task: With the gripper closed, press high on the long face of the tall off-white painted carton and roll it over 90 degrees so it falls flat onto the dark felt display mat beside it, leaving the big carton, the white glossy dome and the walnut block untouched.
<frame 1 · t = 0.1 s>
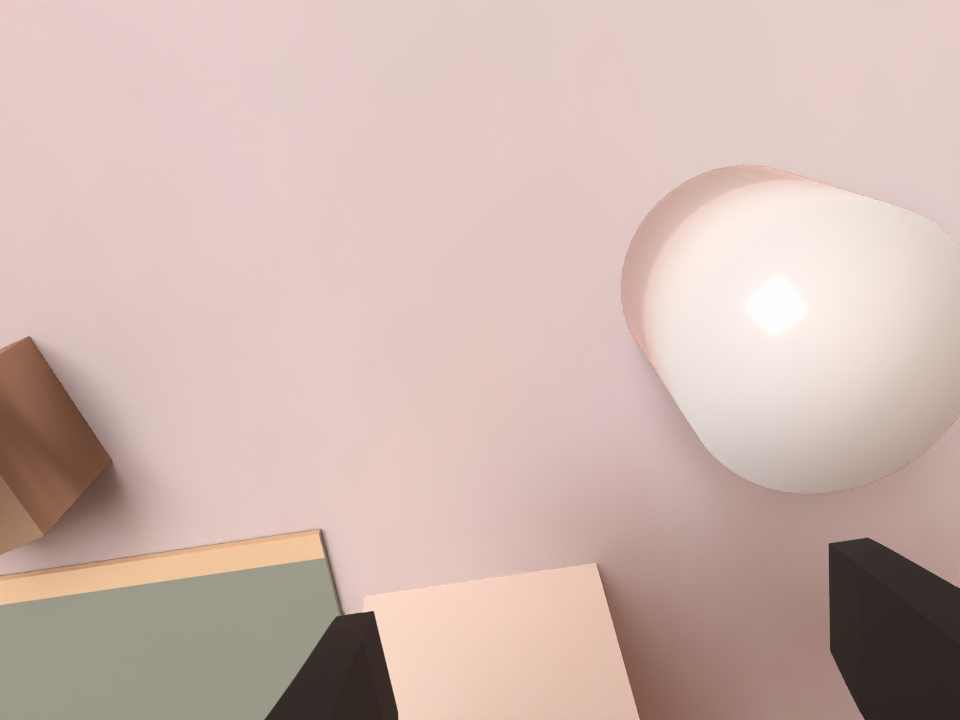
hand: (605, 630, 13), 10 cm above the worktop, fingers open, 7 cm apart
walnut block: (10, 426, 22), on the worktop
white glossy dome: (734, 281, 21), on the worktop
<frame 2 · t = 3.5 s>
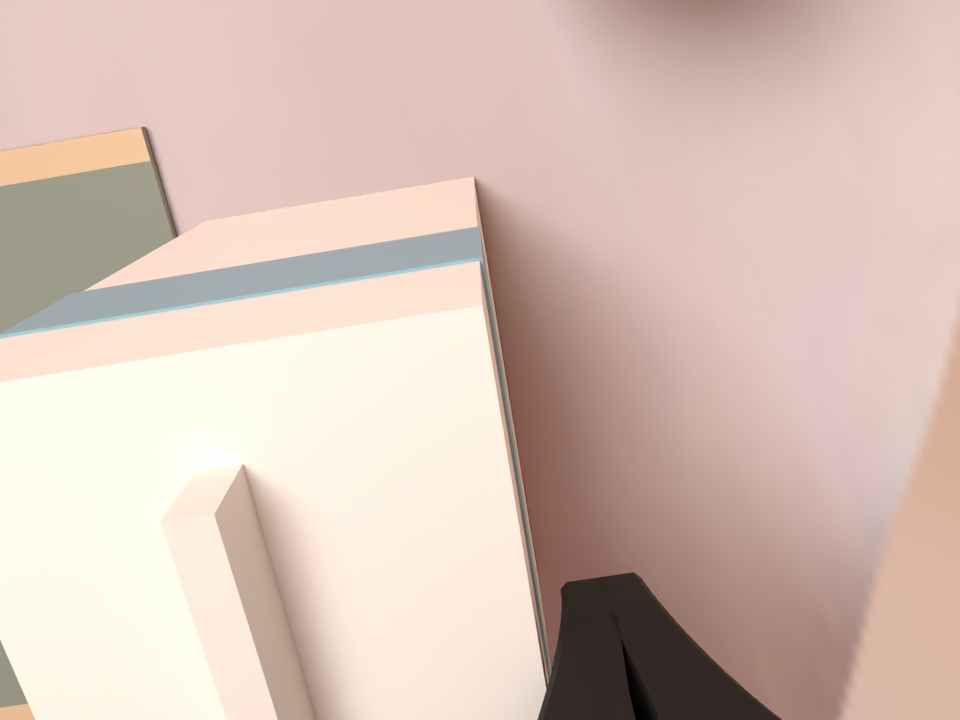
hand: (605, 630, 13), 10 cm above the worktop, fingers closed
milk carton: (384, 412, 23), on the worktop, touching gripper
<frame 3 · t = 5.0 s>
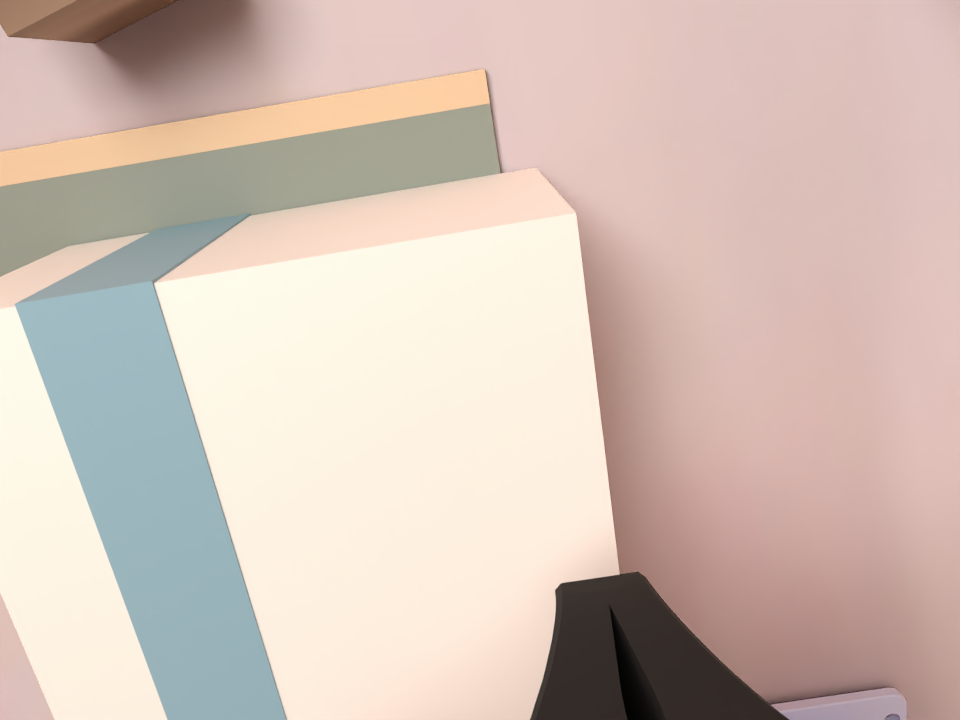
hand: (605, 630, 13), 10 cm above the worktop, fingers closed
display mat: (285, 428, 23), on the worktop
milk carton: (585, 442, 19), point 4 cm above the worktop, tilted 90°, touching display mat
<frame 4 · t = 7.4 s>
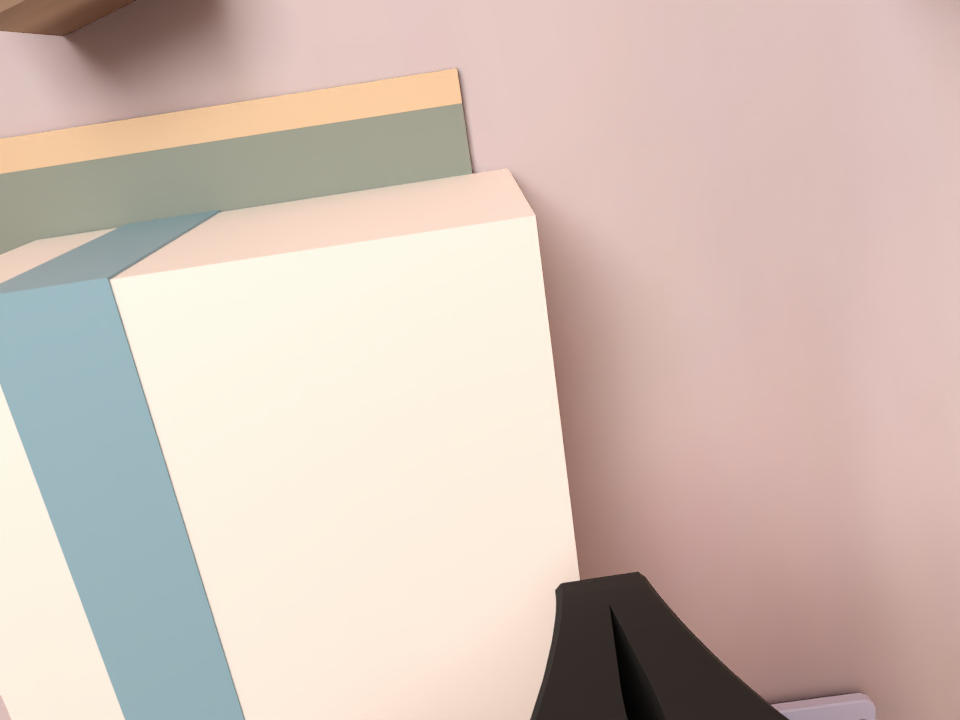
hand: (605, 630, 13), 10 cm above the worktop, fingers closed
display mat: (255, 426, 23), on the worktop
milk carton: (551, 444, 19), point 4 cm above the worktop, tilted 90°, touching display mat
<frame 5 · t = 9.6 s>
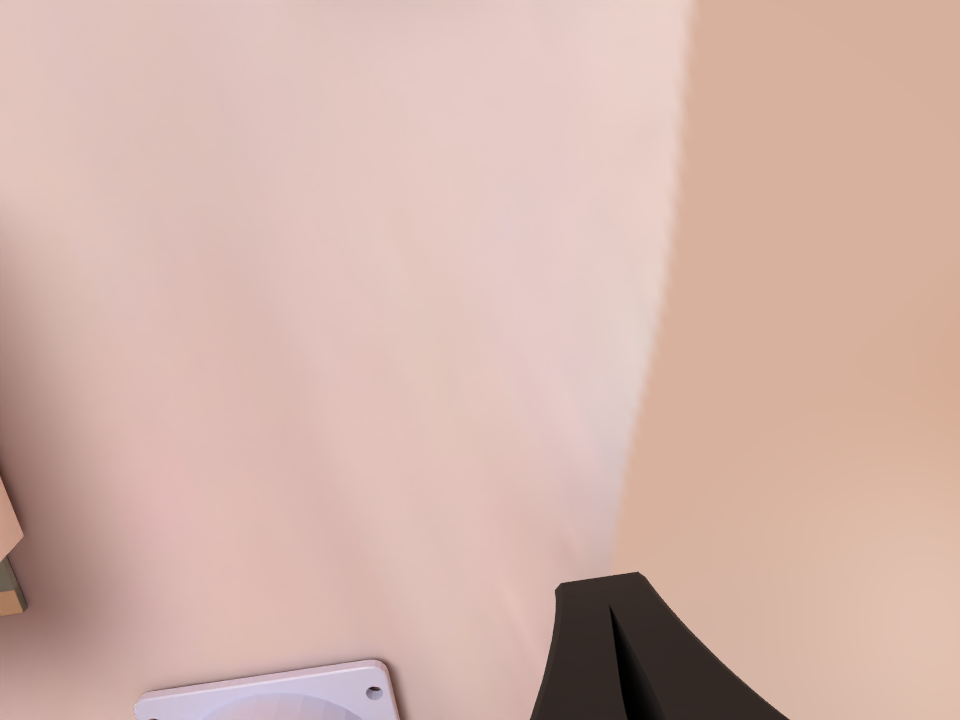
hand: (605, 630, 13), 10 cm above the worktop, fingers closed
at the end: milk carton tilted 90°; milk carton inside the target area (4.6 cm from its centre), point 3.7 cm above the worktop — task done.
